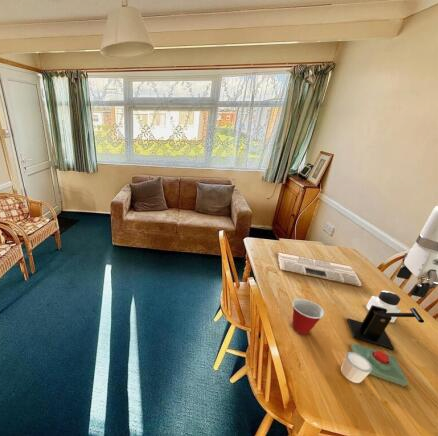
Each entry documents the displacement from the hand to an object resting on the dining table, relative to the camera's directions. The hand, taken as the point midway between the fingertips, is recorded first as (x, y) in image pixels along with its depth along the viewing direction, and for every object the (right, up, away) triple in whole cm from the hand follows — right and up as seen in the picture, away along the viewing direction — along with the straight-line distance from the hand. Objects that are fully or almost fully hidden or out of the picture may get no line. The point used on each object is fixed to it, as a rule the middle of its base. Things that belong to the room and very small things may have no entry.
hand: (408, 286), depth 78 cm
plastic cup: (-26, -23, +18) cm, 39 cm away
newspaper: (+8, -6, +55) cm, 56 cm away
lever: (+5, -14, +8) cm, 17 cm away
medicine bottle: (+15, -20, +24) cm, 35 cm away
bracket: (+1, -24, +15) cm, 29 cm away
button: (-8, -26, +2) cm, 27 cm away
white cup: (-19, -31, +1) cm, 36 cm away
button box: (-8, -30, +4) cm, 31 cm away
